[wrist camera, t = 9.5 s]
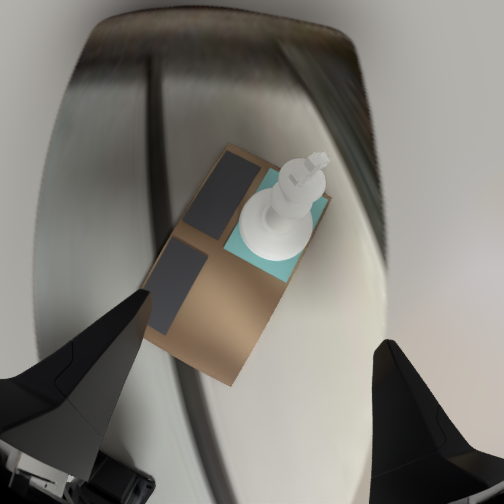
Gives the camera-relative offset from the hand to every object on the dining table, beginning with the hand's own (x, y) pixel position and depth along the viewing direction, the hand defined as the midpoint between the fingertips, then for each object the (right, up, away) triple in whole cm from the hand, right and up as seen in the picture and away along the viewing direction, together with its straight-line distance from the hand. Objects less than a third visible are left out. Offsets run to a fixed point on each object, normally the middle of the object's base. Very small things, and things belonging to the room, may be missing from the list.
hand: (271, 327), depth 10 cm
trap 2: (-6, 0, +8) cm, 11 cm away
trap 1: (-3, +7, +10) cm, 12 cm away
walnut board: (-2, +2, +10) cm, 10 cm away
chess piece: (+1, +5, +9) cm, 11 cm away
